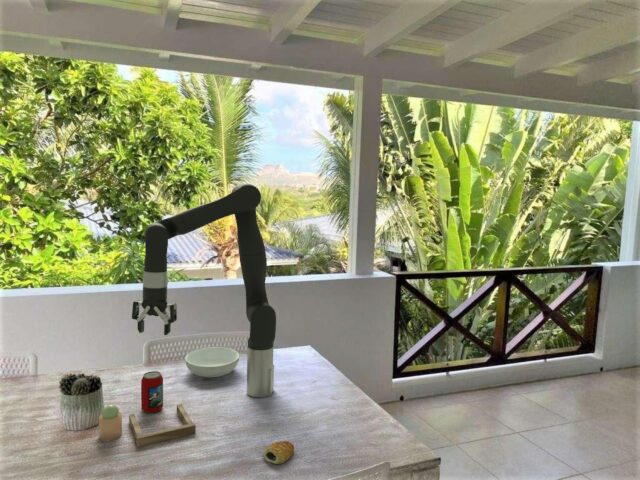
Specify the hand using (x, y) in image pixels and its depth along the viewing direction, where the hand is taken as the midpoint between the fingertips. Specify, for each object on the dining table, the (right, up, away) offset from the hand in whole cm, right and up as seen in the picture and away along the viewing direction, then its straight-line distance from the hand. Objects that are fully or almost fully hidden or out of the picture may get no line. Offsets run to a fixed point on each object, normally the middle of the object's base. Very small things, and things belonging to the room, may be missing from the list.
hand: (154, 333), depth 153 cm
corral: (+6, -27, -10) cm, 29 cm away
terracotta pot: (-7, -27, -16) cm, 32 cm away
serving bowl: (+12, -22, +32) cm, 41 cm away
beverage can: (-1, -25, 0) cm, 25 cm away
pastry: (+43, -30, -23) cm, 57 cm away
